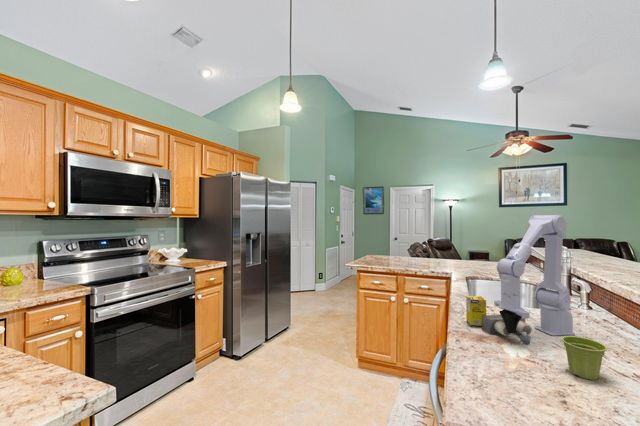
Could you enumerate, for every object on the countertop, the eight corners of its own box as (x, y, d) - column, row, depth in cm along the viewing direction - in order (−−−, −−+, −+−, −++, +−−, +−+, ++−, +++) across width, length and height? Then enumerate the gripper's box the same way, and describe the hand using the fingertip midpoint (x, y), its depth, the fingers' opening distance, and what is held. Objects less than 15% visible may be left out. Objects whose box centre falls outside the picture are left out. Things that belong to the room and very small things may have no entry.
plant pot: (595, 368, 86) (595, 338, 86) (615, 386, 77) (615, 352, 78) (556, 363, 89) (556, 334, 90) (571, 380, 81) (570, 347, 81)
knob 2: (510, 324, 119) (510, 314, 119) (532, 335, 108) (532, 323, 108) (501, 325, 118) (501, 314, 118) (521, 335, 108) (521, 323, 108)
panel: (515, 328, 118) (515, 313, 118) (525, 332, 113) (525, 318, 113) (481, 329, 117) (481, 315, 117) (490, 334, 112) (490, 319, 112)
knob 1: (492, 325, 118) (492, 314, 118) (512, 336, 108) (512, 324, 108) (483, 325, 118) (483, 315, 118) (502, 336, 107) (502, 324, 107)
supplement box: (486, 328, 118) (486, 300, 118) (470, 327, 119) (470, 299, 119) (481, 322, 124) (481, 296, 124) (466, 321, 125) (465, 295, 125)
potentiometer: (523, 340, 106) (522, 330, 106) (531, 343, 104) (531, 332, 104) (516, 342, 105) (516, 331, 105) (525, 345, 102) (525, 334, 102)
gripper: (486, 288, 113) (486, 325, 112) (515, 299, 98) (515, 341, 98) (504, 288, 113) (504, 324, 113) (535, 298, 99) (535, 340, 99)
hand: (511, 332), depth 106 cm, fingers closed
